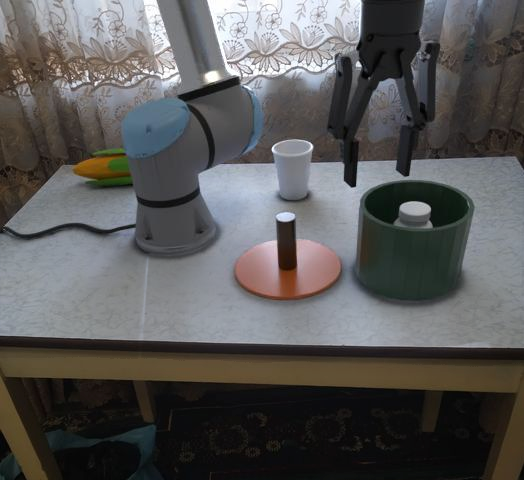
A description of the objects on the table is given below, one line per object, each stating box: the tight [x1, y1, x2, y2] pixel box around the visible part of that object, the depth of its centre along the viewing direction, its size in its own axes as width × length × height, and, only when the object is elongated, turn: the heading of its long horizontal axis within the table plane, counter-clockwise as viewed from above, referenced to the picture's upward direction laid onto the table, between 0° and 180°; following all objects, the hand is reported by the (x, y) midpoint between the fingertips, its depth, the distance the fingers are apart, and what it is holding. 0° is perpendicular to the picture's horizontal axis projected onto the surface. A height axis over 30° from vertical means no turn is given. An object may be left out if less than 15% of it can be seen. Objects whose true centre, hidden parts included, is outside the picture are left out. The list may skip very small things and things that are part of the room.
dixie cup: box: [271, 139, 314, 201], centre depth 108 cm, size 8×8×10 cm
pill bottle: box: [393, 202, 433, 228], centre depth 83 cm, size 6×6×11 cm
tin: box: [354, 179, 476, 302], centre depth 83 cm, size 17×17×12 cm
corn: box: [71, 147, 133, 187], centre depth 120 cm, size 7×8×20 cm
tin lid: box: [234, 211, 342, 301], centre depth 86 cm, size 18×18×10 cm
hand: (376, 178), depth 77 cm, fingers open, 8 cm apart
